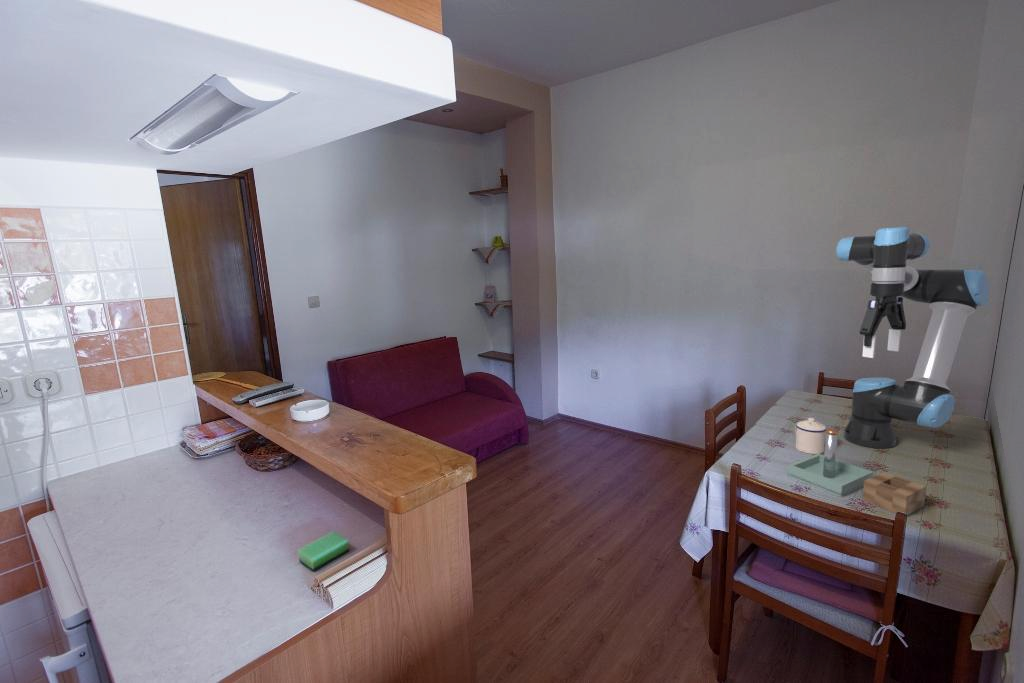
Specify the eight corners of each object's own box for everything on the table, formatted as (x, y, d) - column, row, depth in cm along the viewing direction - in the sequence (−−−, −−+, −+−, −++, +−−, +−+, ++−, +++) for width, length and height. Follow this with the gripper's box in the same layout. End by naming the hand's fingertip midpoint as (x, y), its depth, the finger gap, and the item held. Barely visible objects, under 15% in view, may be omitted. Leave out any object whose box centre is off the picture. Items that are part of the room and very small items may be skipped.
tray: (817, 463, 155) (818, 453, 154) (871, 482, 140) (872, 472, 140) (786, 475, 148) (787, 465, 147) (841, 497, 133) (841, 486, 133)
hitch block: (881, 491, 136) (883, 471, 134) (923, 506, 127) (926, 486, 126) (862, 500, 131) (864, 480, 130) (904, 517, 122) (906, 496, 121)
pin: (826, 472, 146) (829, 427, 143) (836, 476, 143) (840, 430, 140) (820, 475, 145) (823, 429, 142) (830, 479, 142) (834, 432, 139)
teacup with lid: (831, 453, 161) (833, 421, 159) (806, 456, 160) (808, 424, 158) (806, 440, 173) (808, 410, 171) (783, 442, 172) (785, 412, 170)
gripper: (895, 278, 143) (888, 346, 147) (848, 285, 132) (843, 357, 136) (925, 279, 136) (917, 350, 140) (878, 285, 126) (872, 362, 129)
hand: (880, 353), depth 138 cm, fingers open, 13 cm apart
